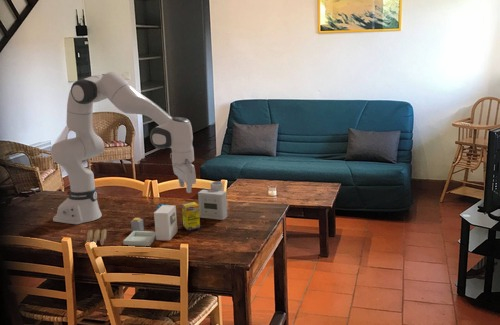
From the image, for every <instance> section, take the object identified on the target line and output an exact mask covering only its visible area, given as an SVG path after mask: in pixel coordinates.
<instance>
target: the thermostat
mask: <svg viewBox="0 0 500 325" xmlns="http://www.w3.org/2000/svg"><path fill="white" fill-rule="evenodd" d="M197 196H198V205H199V217H200V219H201V218H203V219H211V220H219V221H220V220H221V221H223V220H225V219H226V218H228V200H227V191H224V184H223V182H222V181H212V182H210V189H201V190H200V191H198V193H197Z"/></svg>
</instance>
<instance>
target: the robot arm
mask: <svg viewBox="0 0 500 325" xmlns="http://www.w3.org/2000/svg"><path fill="white" fill-rule="evenodd" d="M70 87H71V88H70V90H69V92H68V97H67V103H66V123H65V124H66V126H67V128H68V129H69V130H70V131H72V132H74V133H75V134H76V135H75V137H71V138H67V139H63V140H60V141H58V142H56V143H54V144H52V146H51V149H50V157H51V159H52V161H54V162H55V163H56V164H57V165H60V166H61V167H62V168H63V169H64V170H65V172H66V174H67V177H68V181H69V187H70V188H69V189H70V190H67V192H66V193H65V194H66V196H68V197H67V198H66V199H65V200H64V201H63V202H62V203H60V204H59V206H58V207H57V211H56V212H57V213H56V214H55V215H54V216H53V218H52V222H56V223H64V224H71V225H79V224H80V225H81V224H84V223H89V222H93V221H95V220H98V219H100V218H101V217H102V215H103V214H102V211H101V209H100V206H99V203H98V194H97V188H96V184H95V182H96V181H95V175H94V171H92V170H91V169H90V168H89V167H85V166H83V162H82V161H85V160H89V159H90V160H91V159H93V158H96V157H98V156H100V155H102V154H103V152H104V151H105V142H104V140H103V139H102V137H100V135H98V134H96V132H95V130H94V125H93V117H94V115H93V113H94V103H98V102H102V101H103V100H104V101H105V100H107V99H108V100H109V101H110V103H112V105H114V107H115V108H117V110H120V112H122V113H124V114H129V115H131V114H132V115H135V114H136V115H141V116H146V117H148V118H150V119H151V120H152V121H153V122H155V123H156V124H157V125H158V126H157V125H156V126H154V127H153V128H152V129H151V131H150V132H149V133H150V134H149V139H150V140H149V141H150V142H151V144H152V145H153V147H155V148H156V149H158V150H159V149H160V150H163V149H167V148H169V149H171V153H170V154H169V155H170V156H169V157H170V159H171V163H172V164H171V166H172V170H173V174H174V175H176V176H177V180H178V183H179V187H180V188H183V187H185V185H186V188H185V190H186V193H187V194H191V193H192V192H193V191H192V187H193V185H195V184H196V183H197V177H196V176H197V175H196V169H195V165H194V164H192V163H193V162H195V151H194V150H195V149H194V146H193V141H194V135H193V127H192V123H191V121H190V120H189V119H188V118H186V117H183V116H182V117H181V116H175V117H174V116H171V115H170V114H169V113H168V112H167V111H165V109H163V108H161V106H160V105H158V104H157V103H155V102H154V101H153V100H152V99H150V98H148V97H146V96H145V95H143V93H141V92H140V91H139V90H138V89H136V88H135V87H134V86H133V85H132V84H131V83H130V82H128V81H127V80H126V79H125V78H124V77H123V76H121V75H120V74H118V73H117V72H114V71H109V72H106V73H103V74H97V75H91V76H88V77H85V78H80V79H78V80H76V81H75V82H73V83H72V85H71V86H70Z"/></svg>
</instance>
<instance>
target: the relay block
mask: <svg viewBox="0 0 500 325" xmlns="http://www.w3.org/2000/svg"><path fill="white" fill-rule="evenodd" d="M130 225H131V226H130V227H131V233H132V232H133V231H145V227H144V226H145V225H144V219H143V218H141V217H134V218H133V219H132V220H131V221H130Z"/></svg>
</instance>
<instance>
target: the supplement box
mask: <svg viewBox="0 0 500 325" xmlns="http://www.w3.org/2000/svg"><path fill="white" fill-rule="evenodd" d="M181 208H182V209H181V210H182V224H183V225H182V226H183V228H184V229H186V231H187V232H189V231H193V230H199V229H201V222H200V221H201V220H200V219H201V217H200V215H199V203H197V202H195V201H193V202H188V203H181Z"/></svg>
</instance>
